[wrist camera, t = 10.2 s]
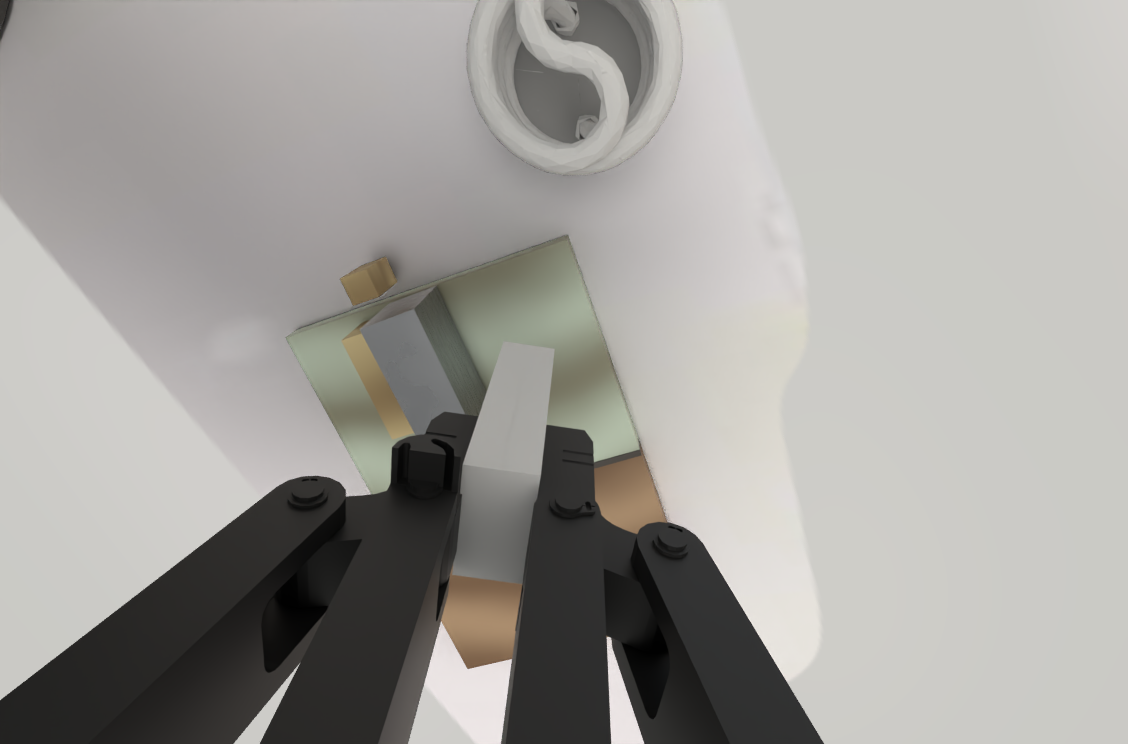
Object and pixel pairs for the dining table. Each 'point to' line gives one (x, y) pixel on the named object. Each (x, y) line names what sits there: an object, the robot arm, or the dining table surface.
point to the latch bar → (424, 359)
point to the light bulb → (574, 77)
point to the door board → (484, 321)
